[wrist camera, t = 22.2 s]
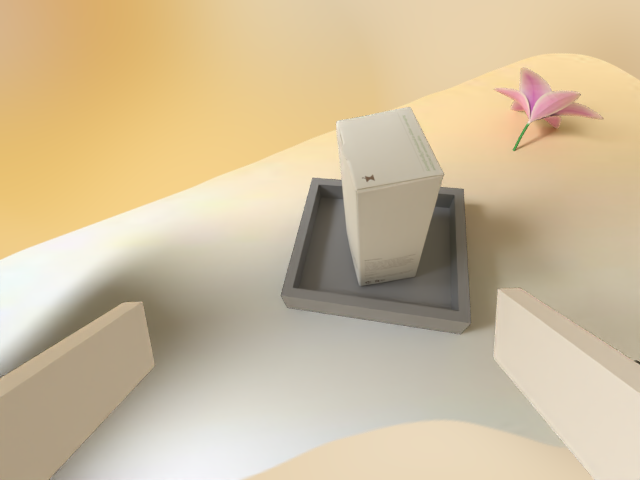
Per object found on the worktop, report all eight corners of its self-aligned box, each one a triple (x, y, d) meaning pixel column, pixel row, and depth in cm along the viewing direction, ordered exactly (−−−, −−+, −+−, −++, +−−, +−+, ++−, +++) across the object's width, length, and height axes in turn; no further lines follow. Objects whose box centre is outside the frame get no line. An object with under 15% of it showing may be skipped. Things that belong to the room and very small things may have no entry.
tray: (287, 307, 35) (280, 295, 32) (315, 195, 43) (312, 177, 40) (460, 334, 32) (470, 323, 29) (455, 207, 40) (463, 188, 37)
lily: (584, 165, 42) (632, 87, 38) (528, 164, 38) (574, 74, 33) (509, 139, 52) (540, 73, 47) (456, 135, 47) (484, 61, 42)
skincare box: (415, 278, 34) (451, 178, 21) (354, 288, 34) (353, 194, 21) (395, 217, 39) (414, 102, 25) (341, 226, 39) (333, 116, 26)
